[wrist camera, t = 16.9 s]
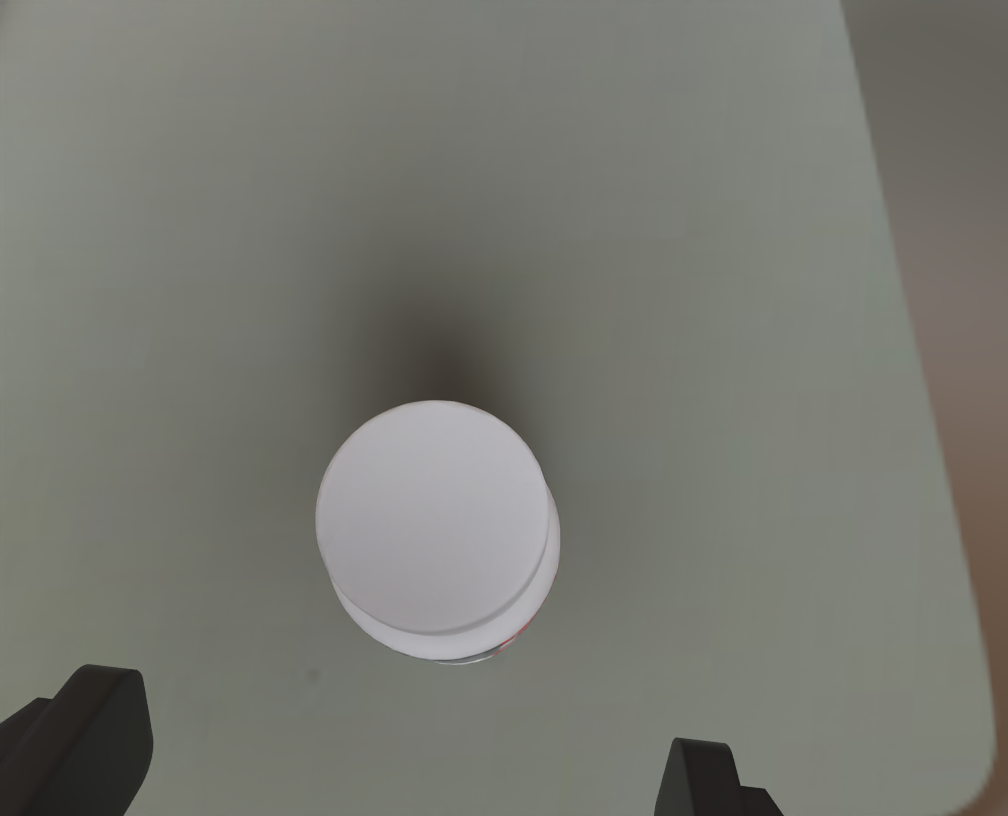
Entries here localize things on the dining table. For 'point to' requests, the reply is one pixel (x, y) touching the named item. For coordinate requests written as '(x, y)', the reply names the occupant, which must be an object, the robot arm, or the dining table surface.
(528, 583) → the pill bottle
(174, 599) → the dining table surface
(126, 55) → the dining table surface
